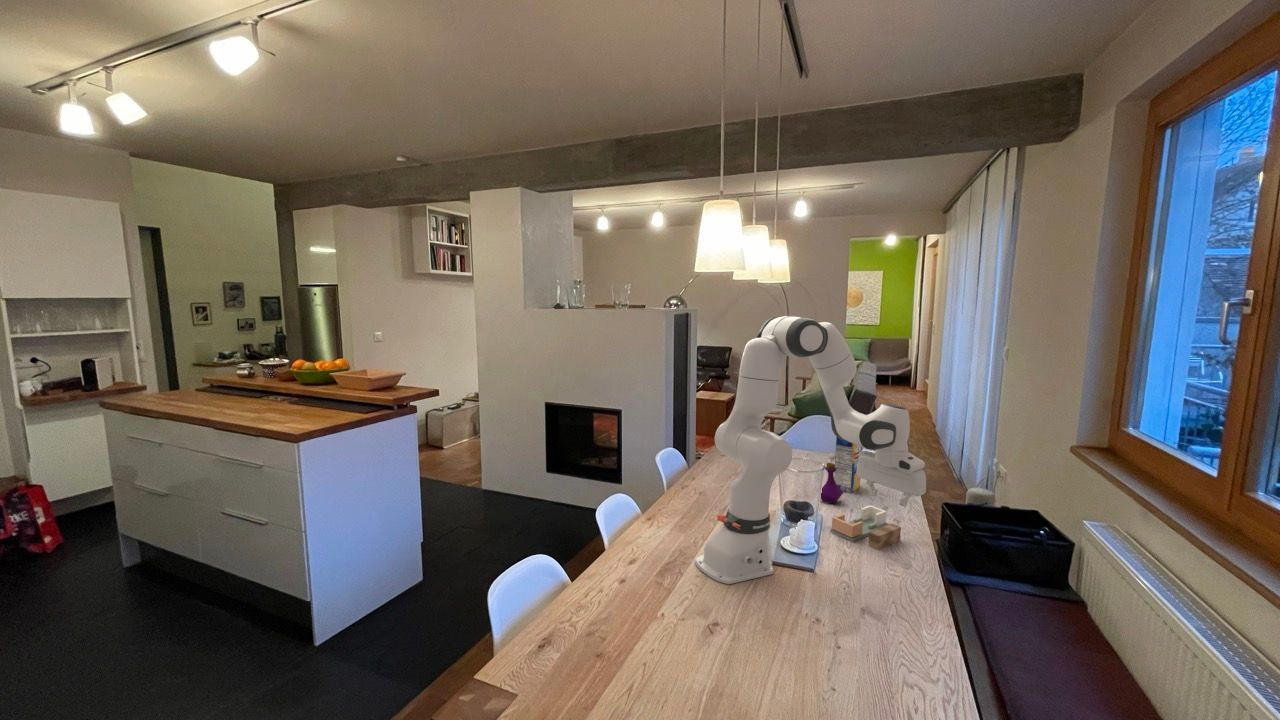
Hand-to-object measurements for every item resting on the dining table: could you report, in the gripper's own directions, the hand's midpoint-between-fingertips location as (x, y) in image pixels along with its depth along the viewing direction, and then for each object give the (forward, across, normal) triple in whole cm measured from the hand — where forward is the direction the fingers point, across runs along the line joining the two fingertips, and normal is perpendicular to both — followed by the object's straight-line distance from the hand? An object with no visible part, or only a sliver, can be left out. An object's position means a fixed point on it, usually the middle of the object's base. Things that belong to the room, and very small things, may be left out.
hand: (888, 500), depth 150 cm
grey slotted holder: (+14, -10, +2) cm, 17 cm away
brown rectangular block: (+14, 0, 0) cm, 14 cm away
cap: (+12, -10, -6) cm, 17 cm away
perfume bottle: (+14, -30, +14) cm, 35 cm away
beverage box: (+14, -34, +32) cm, 49 cm away
